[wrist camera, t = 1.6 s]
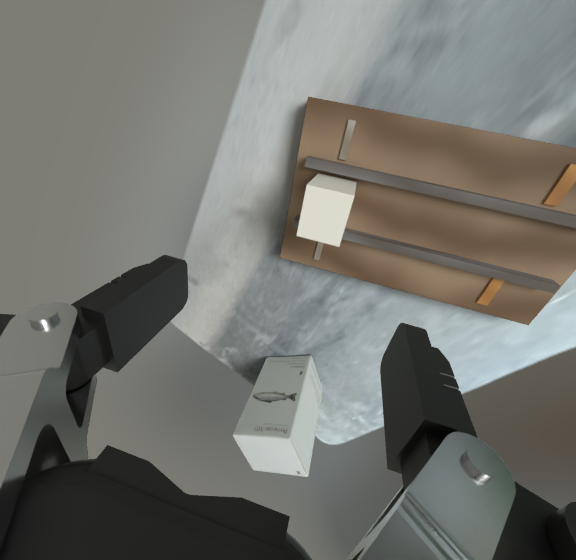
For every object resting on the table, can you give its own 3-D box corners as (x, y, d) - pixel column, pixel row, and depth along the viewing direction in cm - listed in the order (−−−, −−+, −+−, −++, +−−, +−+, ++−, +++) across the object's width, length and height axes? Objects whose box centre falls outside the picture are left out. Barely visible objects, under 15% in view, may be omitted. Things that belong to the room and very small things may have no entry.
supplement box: (312, 353, 38) (291, 439, 28) (323, 389, 41) (309, 480, 31) (265, 355, 41) (230, 435, 30) (279, 389, 44) (252, 472, 33)
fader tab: (318, 173, 24) (306, 184, 19) (356, 181, 24) (354, 195, 19) (309, 215, 26) (296, 235, 21) (344, 224, 26) (339, 246, 21)
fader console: (312, 99, 24) (305, 95, 21) (639, 162, 20) (681, 167, 18) (284, 250, 31) (276, 261, 29) (518, 313, 28) (534, 332, 26)
